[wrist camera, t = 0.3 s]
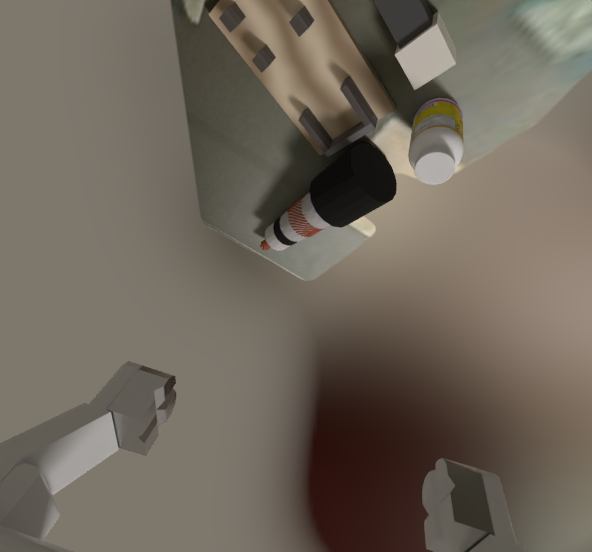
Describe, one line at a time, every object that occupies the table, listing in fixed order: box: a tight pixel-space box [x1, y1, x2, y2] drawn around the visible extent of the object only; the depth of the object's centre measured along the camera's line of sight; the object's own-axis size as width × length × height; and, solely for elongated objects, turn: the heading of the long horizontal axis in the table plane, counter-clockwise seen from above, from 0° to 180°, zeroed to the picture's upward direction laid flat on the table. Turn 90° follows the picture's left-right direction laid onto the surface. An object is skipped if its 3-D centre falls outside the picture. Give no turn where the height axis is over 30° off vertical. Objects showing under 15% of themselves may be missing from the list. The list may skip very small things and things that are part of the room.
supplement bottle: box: [409, 98, 464, 185], centre depth 47 cm, size 7×7×13 cm
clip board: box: [209, 0, 395, 158], centre depth 49 cm, size 14×25×4 cm, turn 42°
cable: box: [260, 143, 396, 251], centre depth 67 cm, size 10×34×10 cm, turn 139°
